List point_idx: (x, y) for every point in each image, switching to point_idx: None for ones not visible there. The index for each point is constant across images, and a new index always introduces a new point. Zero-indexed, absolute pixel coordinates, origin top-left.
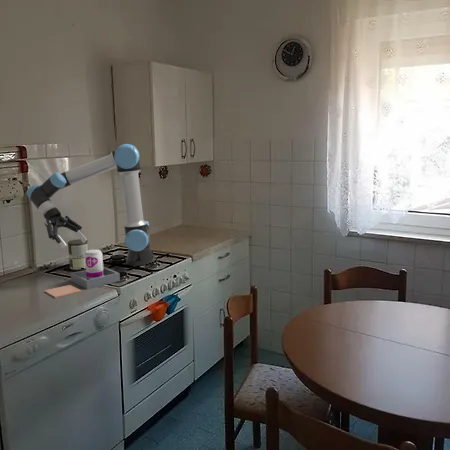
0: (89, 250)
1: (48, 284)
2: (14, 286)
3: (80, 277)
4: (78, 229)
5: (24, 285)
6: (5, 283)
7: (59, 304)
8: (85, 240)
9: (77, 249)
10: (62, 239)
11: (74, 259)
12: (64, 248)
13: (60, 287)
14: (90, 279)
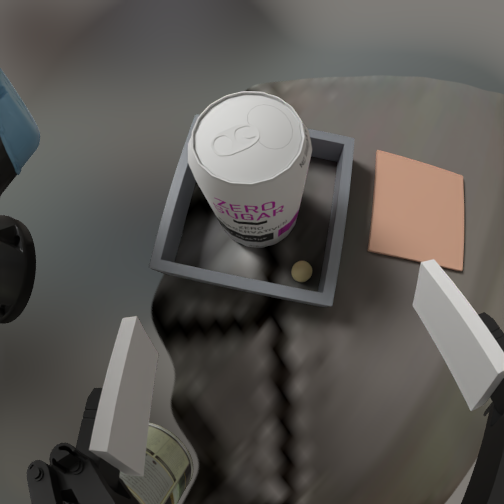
0: (241, 181)
1: (406, 351)
2: (472, 427)
3: (344, 198)
4: (92, 464)
5: (454, 414)
6: (459, 481)
7: (465, 127)
8: (141, 324)
9: (137, 479)
10: (463, 317)
11: (172, 470)
12: (416, 299)
13: (412, 250)
14: (333, 137)
